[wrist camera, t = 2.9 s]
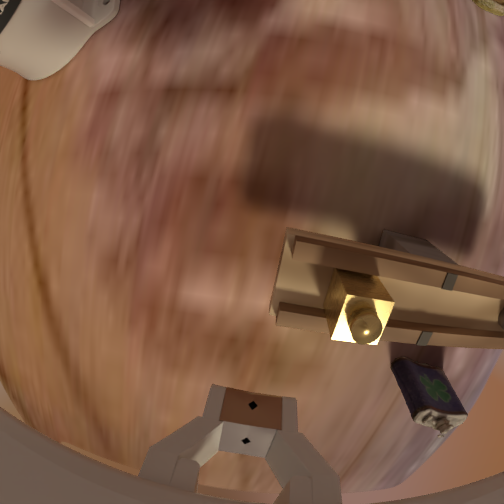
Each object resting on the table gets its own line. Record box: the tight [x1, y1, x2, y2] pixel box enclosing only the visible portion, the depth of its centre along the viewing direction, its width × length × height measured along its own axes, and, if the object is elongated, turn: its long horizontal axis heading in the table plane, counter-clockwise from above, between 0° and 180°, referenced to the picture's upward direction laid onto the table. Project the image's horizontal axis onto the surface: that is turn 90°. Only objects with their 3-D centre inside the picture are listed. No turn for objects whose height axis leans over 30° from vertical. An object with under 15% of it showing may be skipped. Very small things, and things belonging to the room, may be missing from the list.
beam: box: [269, 227, 504, 349], centre depth 22 cm, size 6×24×11 cm, turn 80°
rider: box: [323, 268, 395, 345], centre depth 17 cm, size 3×3×5 cm
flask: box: [390, 357, 468, 438], centre depth 27 cm, size 9×3×11 cm, turn 68°
